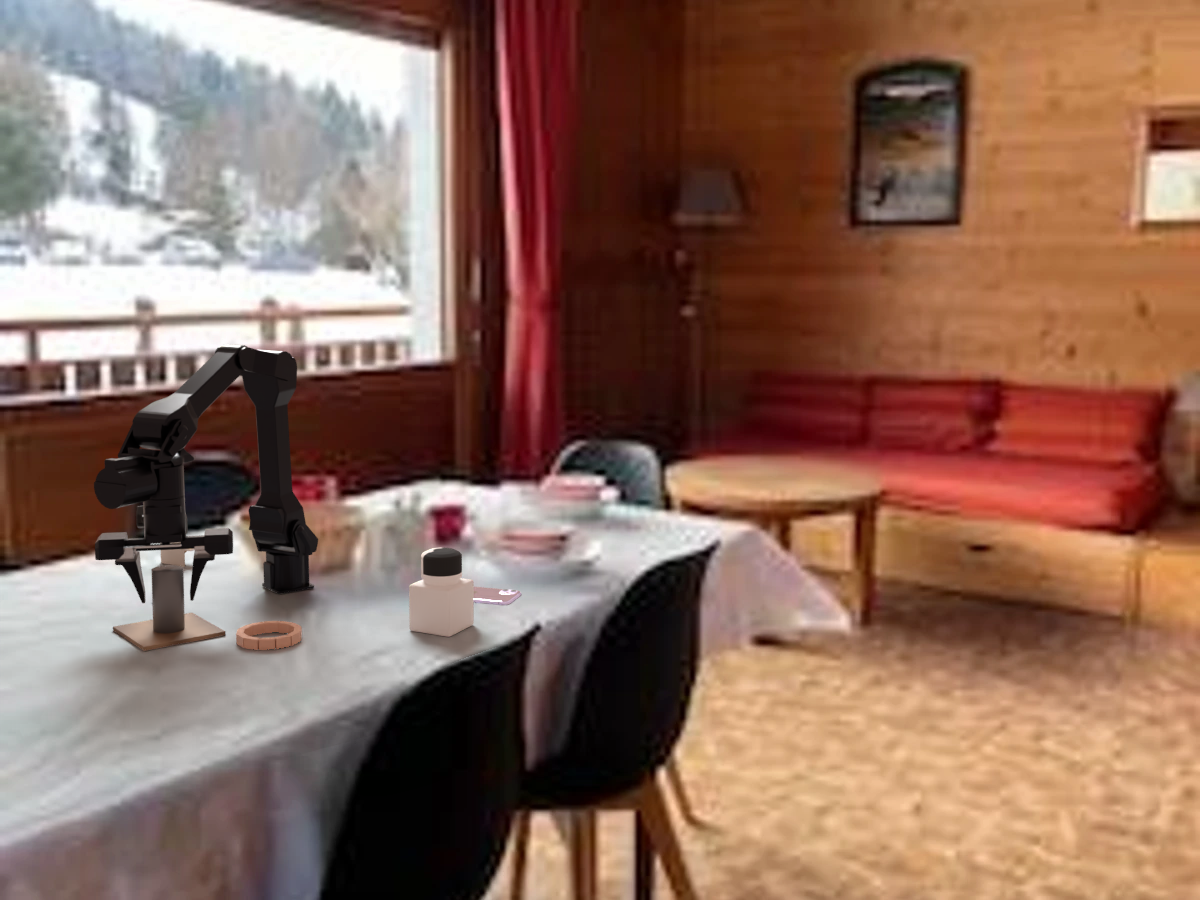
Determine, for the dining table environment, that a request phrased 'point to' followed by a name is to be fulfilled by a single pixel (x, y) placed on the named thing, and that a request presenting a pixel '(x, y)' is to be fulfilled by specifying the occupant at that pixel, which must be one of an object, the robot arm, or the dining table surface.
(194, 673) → the dining table surface
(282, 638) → the orange segmented ring
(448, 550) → the medicine bottle
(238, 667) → the dining table surface
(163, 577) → the cylinder
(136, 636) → the coaster
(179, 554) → the architectural model
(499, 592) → the mobile phone
